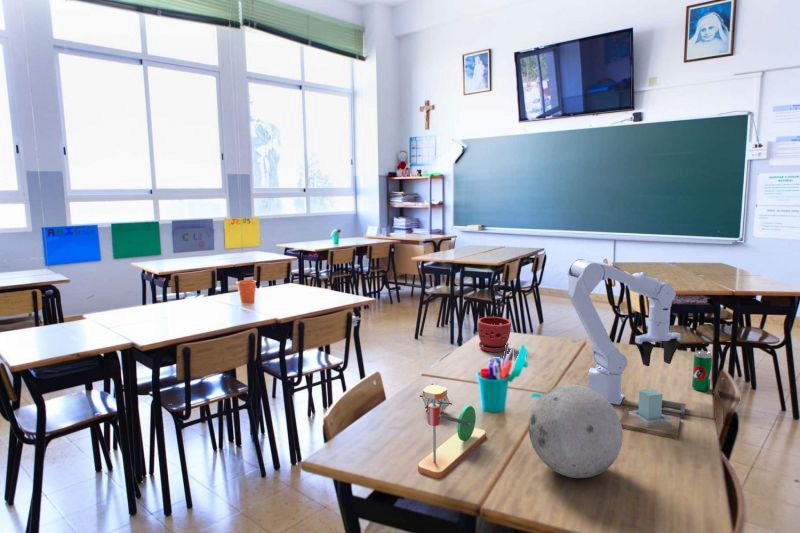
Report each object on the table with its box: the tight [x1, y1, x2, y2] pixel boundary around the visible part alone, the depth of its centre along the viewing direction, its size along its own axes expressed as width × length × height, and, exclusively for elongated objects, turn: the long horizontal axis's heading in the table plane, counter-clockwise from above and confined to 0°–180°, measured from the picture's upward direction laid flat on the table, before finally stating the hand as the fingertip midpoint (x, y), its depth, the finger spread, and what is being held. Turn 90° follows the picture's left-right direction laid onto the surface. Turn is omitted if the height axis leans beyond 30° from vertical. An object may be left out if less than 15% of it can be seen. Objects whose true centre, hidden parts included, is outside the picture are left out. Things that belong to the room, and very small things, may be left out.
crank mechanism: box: [417, 384, 487, 479], centre depth 128 cm, size 25×7×19 cm, turn 145°
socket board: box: [619, 407, 681, 440], centre depth 142 cm, size 14×12×2 cm
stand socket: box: [661, 399, 686, 419], centre depth 150 cm, size 8×8×2 cm
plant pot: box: [477, 316, 512, 353], centre depth 211 cm, size 13×13×12 cm
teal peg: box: [637, 388, 663, 421], centre depth 142 cm, size 4×4×8 cm
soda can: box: [691, 350, 713, 392], centre depth 165 cm, size 5×5×12 cm
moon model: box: [528, 384, 624, 479], centre depth 118 cm, size 20×20×20 cm
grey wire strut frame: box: [419, 383, 453, 414], centre depth 151 cm, size 9×8×10 cm
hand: (656, 364), depth 161 cm, fingers open, 7 cm apart
